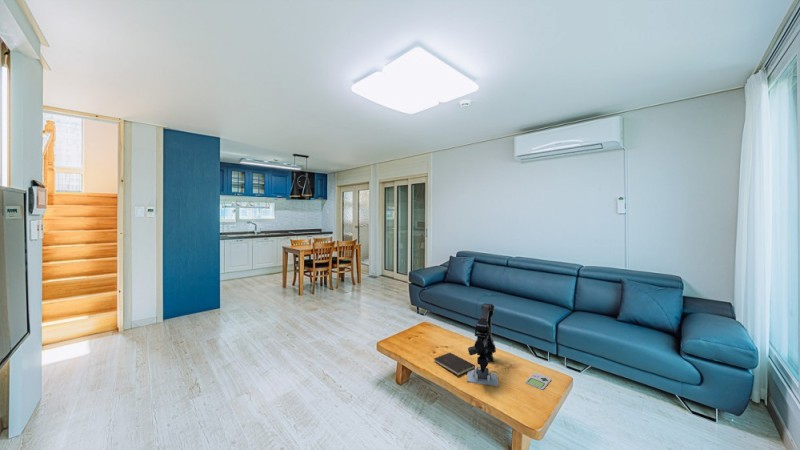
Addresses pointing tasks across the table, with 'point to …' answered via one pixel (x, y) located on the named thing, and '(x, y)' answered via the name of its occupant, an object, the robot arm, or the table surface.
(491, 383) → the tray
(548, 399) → the table surface
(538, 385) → the handheld gaming console
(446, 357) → the hardcover book
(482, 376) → the drive
